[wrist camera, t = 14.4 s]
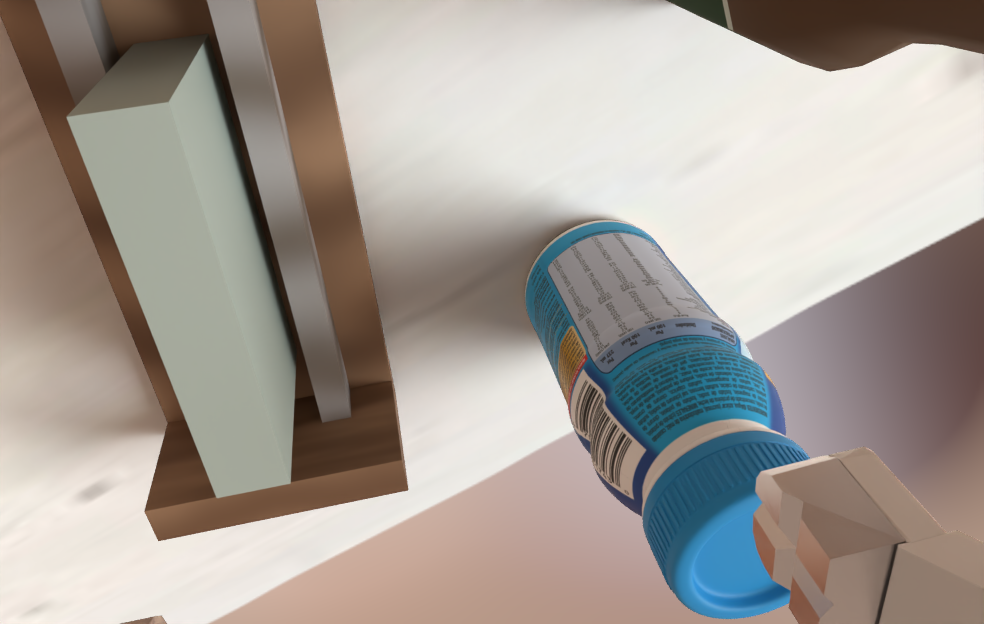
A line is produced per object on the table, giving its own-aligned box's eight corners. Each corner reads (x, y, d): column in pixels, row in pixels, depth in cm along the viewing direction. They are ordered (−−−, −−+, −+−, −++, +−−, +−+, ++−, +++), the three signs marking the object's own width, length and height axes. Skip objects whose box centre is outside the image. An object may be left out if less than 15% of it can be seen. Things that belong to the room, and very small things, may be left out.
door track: (-23, -81, 30) (-123, -58, 23) (291, -118, 31) (283, -106, 24) (183, 433, 44) (158, 541, 37) (395, 393, 45) (408, 490, 38)
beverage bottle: (601, 182, 41) (800, 424, 24) (693, 273, 45) (918, 536, 28) (488, 291, 43) (597, 584, 26) (585, 369, 47) (734, 666, 30)
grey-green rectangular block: (133, 43, 32) (66, 117, 23) (208, 33, 32) (168, 102, 24) (238, 360, 40) (216, 498, 32) (296, 350, 41) (290, 483, 32)
